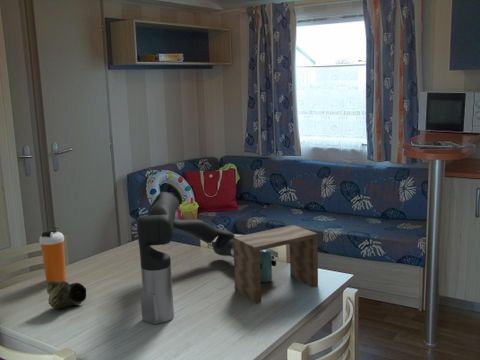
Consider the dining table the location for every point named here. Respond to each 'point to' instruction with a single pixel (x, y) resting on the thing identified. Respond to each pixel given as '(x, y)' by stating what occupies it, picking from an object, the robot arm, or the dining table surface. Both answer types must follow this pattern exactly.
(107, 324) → the dining table surface
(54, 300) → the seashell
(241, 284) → the wooden bench stool
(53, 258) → the shaker bottle
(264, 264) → the teal upright cylinder
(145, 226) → the robot arm
